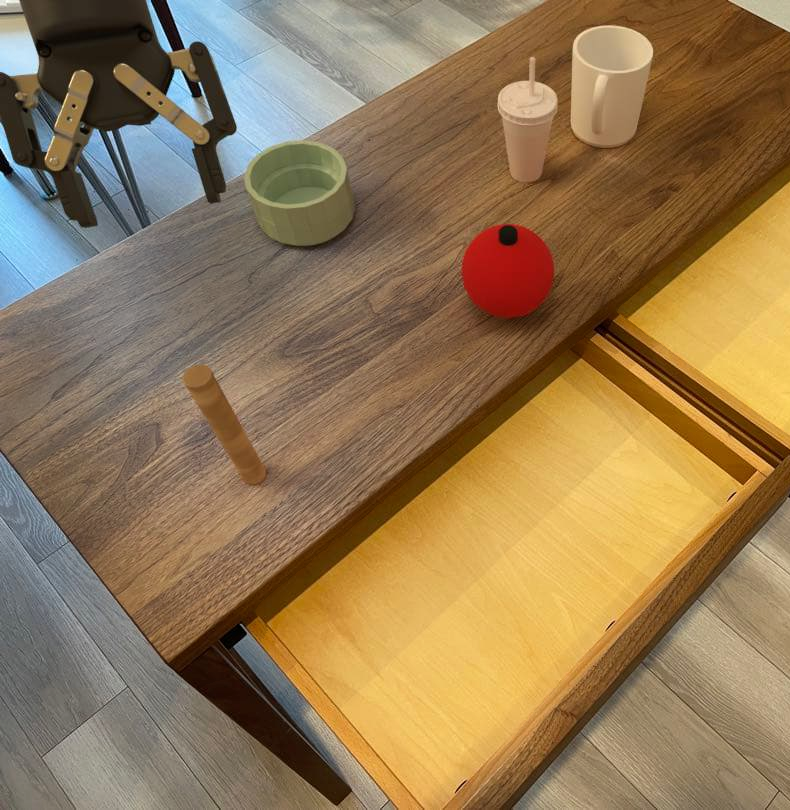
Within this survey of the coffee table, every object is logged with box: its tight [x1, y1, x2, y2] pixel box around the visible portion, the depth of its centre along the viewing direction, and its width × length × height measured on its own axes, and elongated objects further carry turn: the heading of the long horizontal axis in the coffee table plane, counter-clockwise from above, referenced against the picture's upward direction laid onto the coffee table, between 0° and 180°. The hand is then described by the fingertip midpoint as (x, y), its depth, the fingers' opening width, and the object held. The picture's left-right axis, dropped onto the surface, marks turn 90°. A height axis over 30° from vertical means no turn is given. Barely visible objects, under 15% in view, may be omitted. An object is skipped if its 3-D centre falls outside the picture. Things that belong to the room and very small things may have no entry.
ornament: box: [461, 223, 555, 319], centre depth 75 cm, size 9×9×10 cm
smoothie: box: [496, 56, 559, 183], centre depth 84 cm, size 6×6×14 cm
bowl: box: [243, 139, 356, 247], centre depth 82 cm, size 10×10×6 cm
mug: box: [570, 24, 654, 149], centre depth 90 cm, size 11×9×10 cm
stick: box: [182, 363, 267, 486], centre depth 61 cm, size 2×2×15 cm
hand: (153, 214), depth 56 cm, fingers open, 8 cm apart
